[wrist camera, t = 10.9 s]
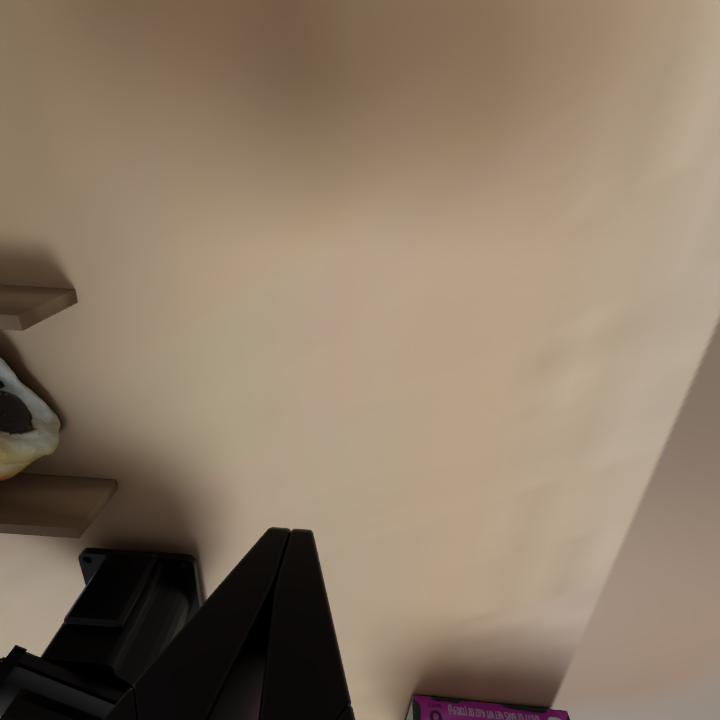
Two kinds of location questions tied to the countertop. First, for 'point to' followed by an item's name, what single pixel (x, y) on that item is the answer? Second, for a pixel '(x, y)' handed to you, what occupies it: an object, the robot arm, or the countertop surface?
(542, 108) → the countertop surface
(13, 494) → the wooden bracket
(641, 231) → the countertop surface
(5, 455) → the pastry
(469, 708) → the candy bar box
